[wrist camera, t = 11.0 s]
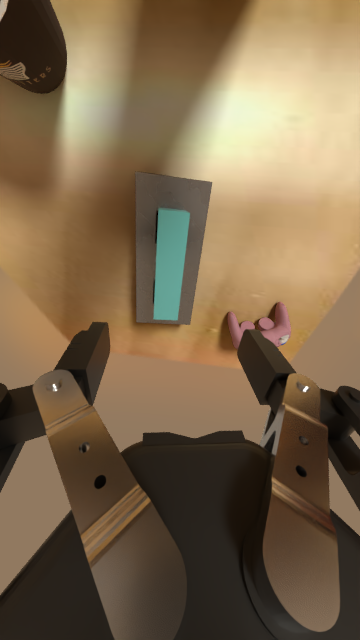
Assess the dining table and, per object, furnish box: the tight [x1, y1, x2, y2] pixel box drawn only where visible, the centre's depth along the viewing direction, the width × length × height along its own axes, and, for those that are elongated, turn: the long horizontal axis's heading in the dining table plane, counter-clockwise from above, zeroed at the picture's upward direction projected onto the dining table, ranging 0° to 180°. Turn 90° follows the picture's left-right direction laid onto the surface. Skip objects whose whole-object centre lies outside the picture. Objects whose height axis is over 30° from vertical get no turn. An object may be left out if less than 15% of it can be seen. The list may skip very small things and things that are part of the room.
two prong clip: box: [154, 207, 190, 320], centre depth 25 cm, size 12×3×7 cm, turn 174°
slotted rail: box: [135, 172, 212, 325], centre depth 27 cm, size 18×8×4 cm, turn 174°
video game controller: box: [228, 302, 291, 349], centre depth 33 cm, size 10×5×7 cm, turn 100°
